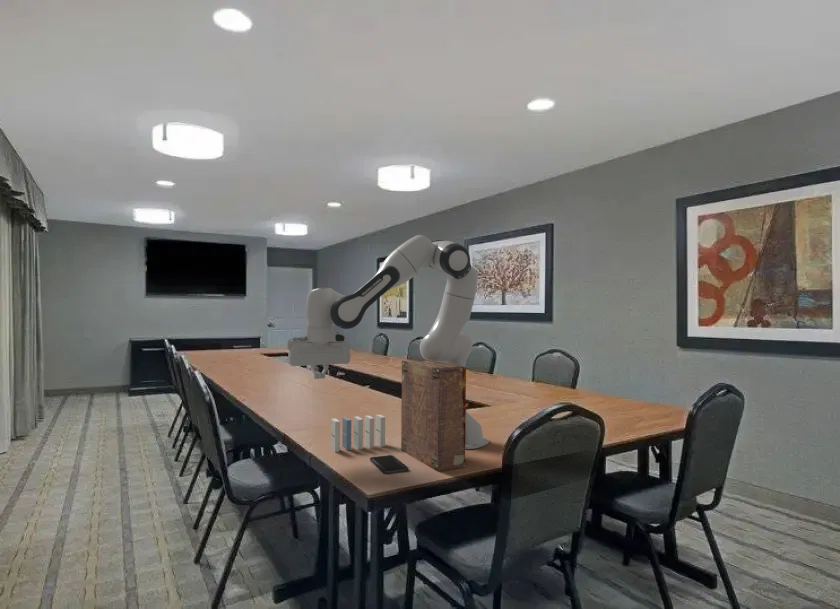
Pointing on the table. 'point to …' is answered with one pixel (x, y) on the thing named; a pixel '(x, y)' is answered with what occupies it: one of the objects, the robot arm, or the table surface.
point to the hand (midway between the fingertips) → (319, 378)
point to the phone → (389, 464)
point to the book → (434, 413)
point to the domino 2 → (346, 433)
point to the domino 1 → (335, 435)
